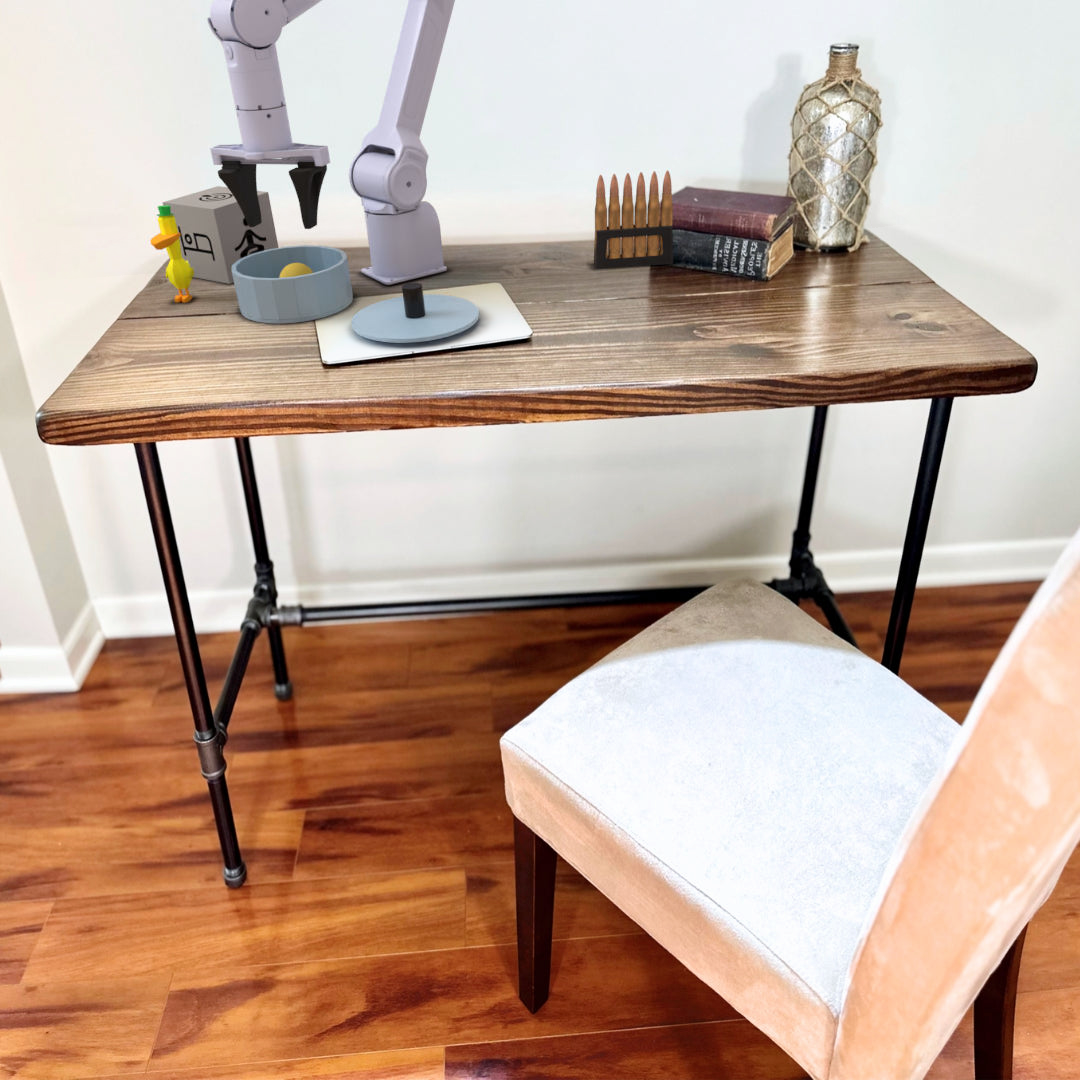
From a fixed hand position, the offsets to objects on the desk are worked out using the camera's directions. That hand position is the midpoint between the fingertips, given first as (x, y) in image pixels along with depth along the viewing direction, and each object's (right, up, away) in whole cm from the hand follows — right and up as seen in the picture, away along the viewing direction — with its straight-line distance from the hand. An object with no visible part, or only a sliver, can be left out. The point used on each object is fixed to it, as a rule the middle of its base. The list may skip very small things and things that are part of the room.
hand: (282, 226), depth 119 cm
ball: (+1, -6, +4) cm, 7 cm away
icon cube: (-13, 0, +20) cm, 23 cm away
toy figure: (-15, -7, +9) cm, 19 cm away
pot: (0, -8, +5) cm, 10 cm away
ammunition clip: (+44, -1, +13) cm, 46 cm away
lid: (+17, -12, -3) cm, 21 cm away
